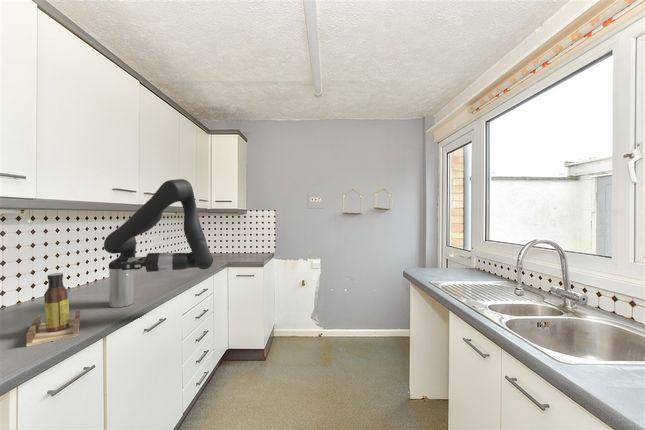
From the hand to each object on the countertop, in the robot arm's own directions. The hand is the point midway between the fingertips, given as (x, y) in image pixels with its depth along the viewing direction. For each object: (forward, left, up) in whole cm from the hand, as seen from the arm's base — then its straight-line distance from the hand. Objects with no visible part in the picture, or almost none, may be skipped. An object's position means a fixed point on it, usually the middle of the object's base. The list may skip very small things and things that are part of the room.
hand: (112, 263), depth 109 cm
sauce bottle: (-3, -16, -22) cm, 27 cm away
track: (-3, -16, -23) cm, 28 cm away
